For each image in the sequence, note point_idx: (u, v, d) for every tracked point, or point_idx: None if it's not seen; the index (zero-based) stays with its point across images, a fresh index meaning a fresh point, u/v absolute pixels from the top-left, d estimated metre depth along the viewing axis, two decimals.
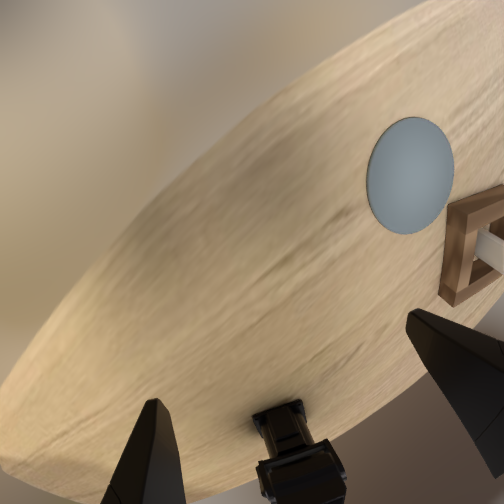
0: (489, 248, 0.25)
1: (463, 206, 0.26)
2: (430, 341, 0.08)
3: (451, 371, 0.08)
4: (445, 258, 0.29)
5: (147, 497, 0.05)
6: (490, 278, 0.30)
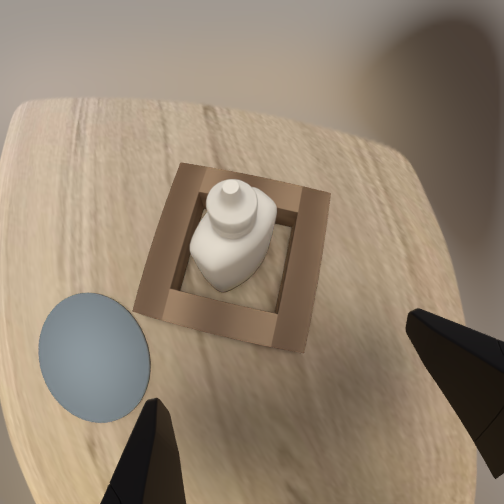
0: (204, 273, 0.20)
1: None
2: (430, 341, 0.08)
3: (451, 371, 0.08)
4: None
5: (147, 497, 0.05)
6: (308, 243, 0.22)
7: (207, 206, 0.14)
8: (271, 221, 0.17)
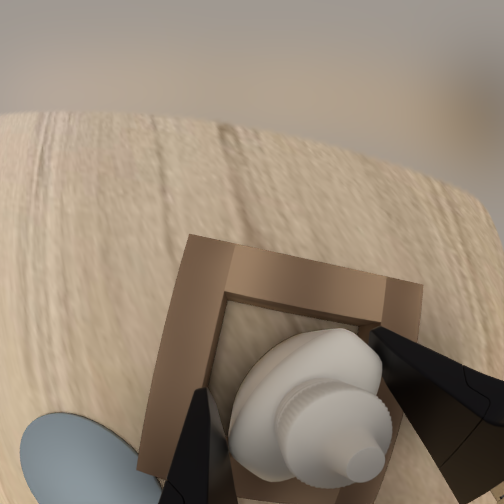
0: None
1: None
2: (390, 362, 0.08)
3: (412, 395, 0.07)
4: None
5: (211, 489, 0.05)
6: None
7: (287, 458, 0.05)
8: None
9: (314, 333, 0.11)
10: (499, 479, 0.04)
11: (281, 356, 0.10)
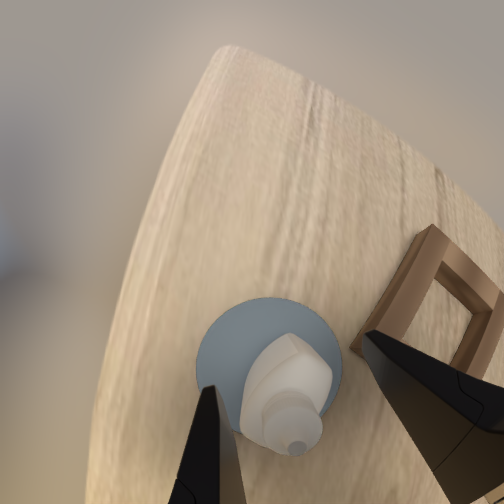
0: None
1: None
2: (383, 366, 0.08)
3: (405, 399, 0.07)
4: None
5: (222, 487, 0.05)
6: (491, 337, 0.19)
7: (265, 441, 0.10)
8: None
9: (289, 349, 0.16)
10: (492, 485, 0.04)
11: (267, 368, 0.15)
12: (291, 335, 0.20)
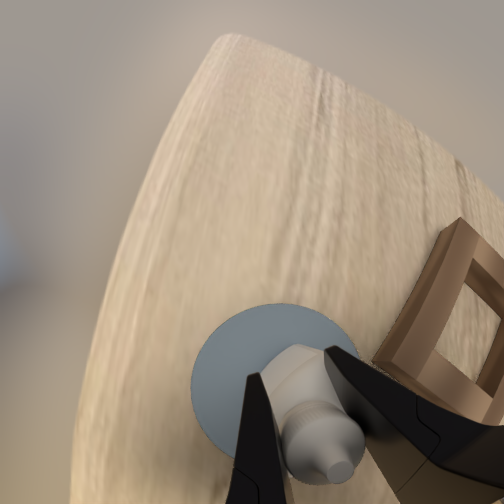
0: None
1: (389, 345, 0.17)
2: (342, 384, 0.08)
3: (363, 420, 0.07)
4: None
5: (282, 471, 0.05)
6: None
7: (288, 468, 0.07)
8: None
9: (303, 355, 0.12)
10: None
11: (278, 378, 0.12)
12: (300, 344, 0.16)
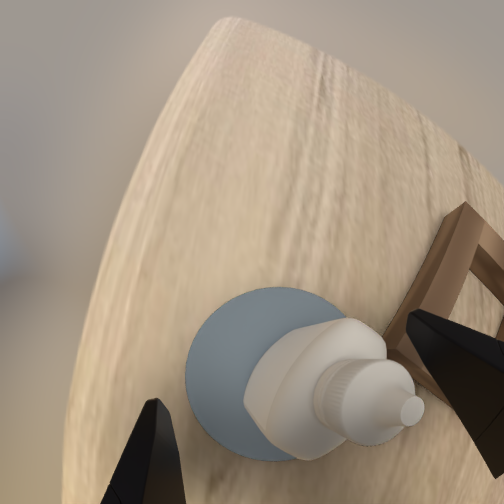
0: None
1: (393, 332, 0.17)
2: (430, 341, 0.08)
3: (451, 371, 0.08)
4: (438, 396, 0.16)
5: (147, 497, 0.05)
6: None
7: (343, 425, 0.06)
8: None
9: (320, 325, 0.12)
10: None
11: (297, 349, 0.11)
12: None
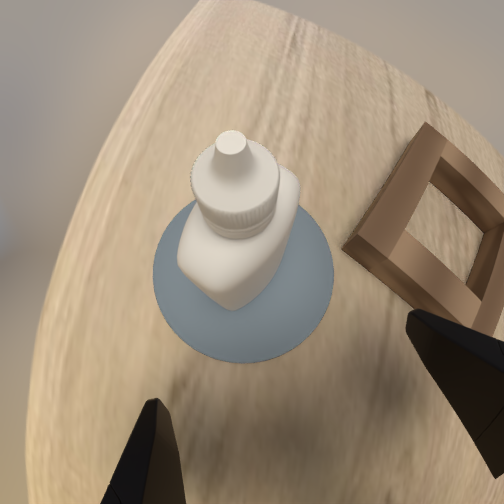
0: (205, 292, 0.13)
1: (357, 228, 0.18)
2: (430, 341, 0.08)
3: (451, 371, 0.08)
4: (415, 307, 0.18)
5: (147, 497, 0.05)
6: None
7: (193, 187, 0.08)
8: (296, 203, 0.11)
9: None
10: None
11: None
12: None
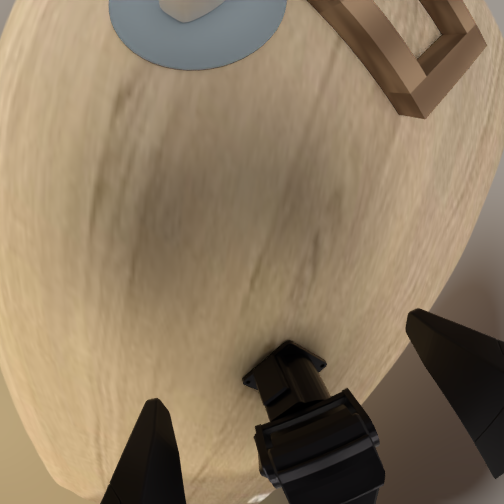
0: None
1: None
2: (430, 341, 0.08)
3: (451, 371, 0.08)
4: (361, 57, 0.17)
5: (147, 497, 0.05)
6: (463, 56, 0.15)
7: None
8: None
9: None
10: None
11: None
12: None
